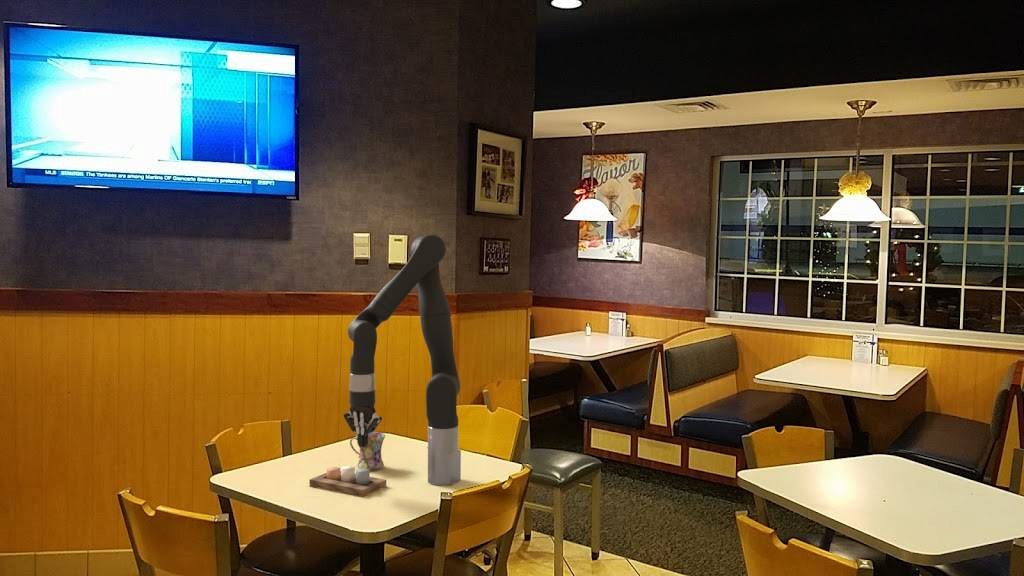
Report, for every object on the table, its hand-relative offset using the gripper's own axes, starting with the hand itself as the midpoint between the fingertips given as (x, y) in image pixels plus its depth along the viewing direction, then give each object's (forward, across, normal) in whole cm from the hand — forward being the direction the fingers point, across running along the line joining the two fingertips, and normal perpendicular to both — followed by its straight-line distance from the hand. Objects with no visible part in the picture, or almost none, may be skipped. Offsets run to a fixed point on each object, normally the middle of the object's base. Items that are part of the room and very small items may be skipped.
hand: (362, 446), depth 234 cm
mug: (+13, +13, -18) cm, 25 cm away
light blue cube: (+11, 0, 0) cm, 11 cm away
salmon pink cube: (+12, +11, 0) cm, 17 cm away
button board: (+13, +6, 0) cm, 14 cm away
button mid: (+11, +5, 0) cm, 12 cm away
